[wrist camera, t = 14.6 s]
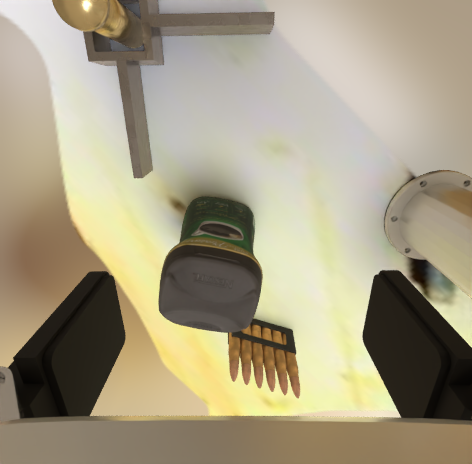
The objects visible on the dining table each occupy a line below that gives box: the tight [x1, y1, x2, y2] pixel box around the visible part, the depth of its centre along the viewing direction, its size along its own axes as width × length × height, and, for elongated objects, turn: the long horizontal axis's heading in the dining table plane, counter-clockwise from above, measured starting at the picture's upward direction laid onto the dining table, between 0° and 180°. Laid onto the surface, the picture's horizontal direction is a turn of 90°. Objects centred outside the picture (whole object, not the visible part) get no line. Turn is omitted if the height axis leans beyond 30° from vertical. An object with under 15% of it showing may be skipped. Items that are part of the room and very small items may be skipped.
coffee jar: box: [159, 197, 263, 333], centre depth 34 cm, size 10×8×19 cm
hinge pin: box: [52, 0, 144, 49], centre depth 28 cm, size 4×4×12 cm
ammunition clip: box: [228, 319, 300, 398], centre depth 44 cm, size 11×2×12 cm, turn 71°
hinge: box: [83, 0, 274, 178], centre depth 33 cm, size 19×19×4 cm
